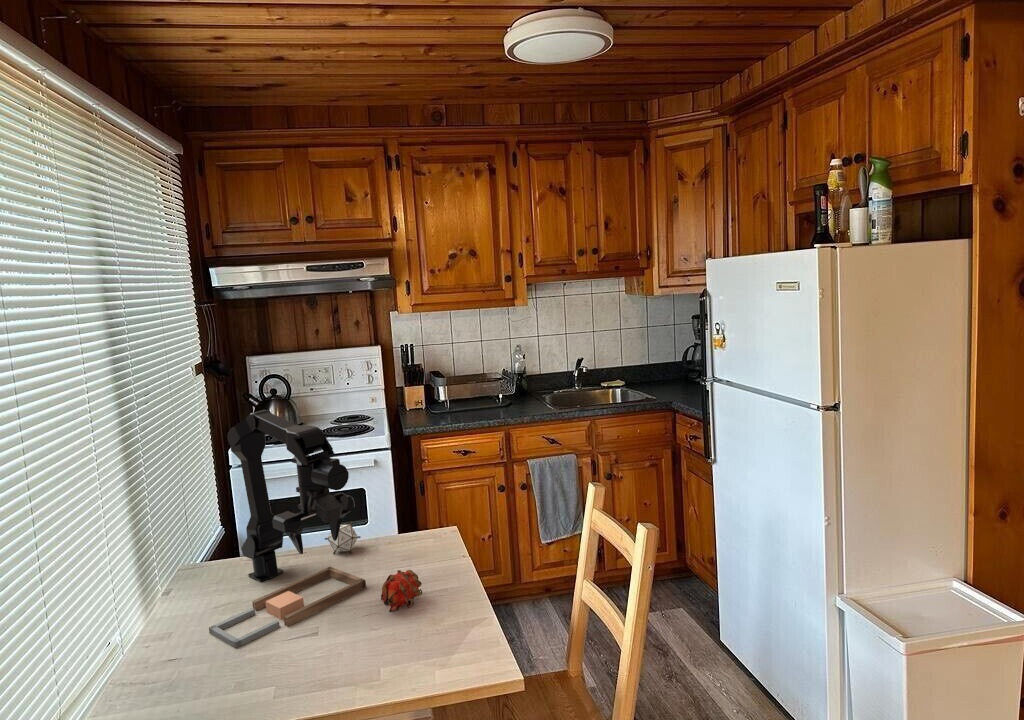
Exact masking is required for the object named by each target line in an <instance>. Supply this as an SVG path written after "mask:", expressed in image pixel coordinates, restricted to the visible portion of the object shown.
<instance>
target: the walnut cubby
mask: <svg viewBox="0 0 1024 720" xmlns="http://www.w3.org/2000/svg"><path fill="white" fill-rule="evenodd" d="M328 578H331V579H334V580H337V581H340V582H341V583H344V584H347V585H346V586H344V587H342V588H340V589H338V590H336V591H333V592H332V593H329V594H327V595H325V596H323V597H322V598H319V599H318V600H315V601H314V602H311V603H308V604H307V605H304V607H302V608H300V609H298V610H296V611H294V612H292V613H290V614H288V615H286V616H284V619H283V622H284V623H283V624H284V627H285V626H286V627H290V626H292V625H294V624H297V622H300V621H302V620H304V619H306V618H308V617H310V616H312V615H314V614H316V613H318V612H320V611H322V610H325V609H326V608H328V607H330V606H333V605H334V604H336V603H338V602H340V601H343V600H345V599H347V598H349V597H350V596H353V595H355V594H356V593H358V592H361V591H363V590H364V589H367V581H366V579H364V578H361V577H359V576H357V575H354V574H352V573H348V572H346V571H344V570H340V569H338V568H335V567H332V566H328V567H326V568H324V569H321V570H319V571H317V572H314V573H313V574H309V575H308V576H306V577H304V578H301V579H299V580H297V581H295V582H293V583H292V582H291V583H289V584H288V585H284V586H283V587H281V588H278V589H276V590H275V591H271V592H270V593H267V594H264V595H263V596H261V597H259V598H256V599H253V600H252V601H251V602H252V608H253V609H255V612H256V611H258V610H261V609H263V608H264V607H265V608H266V603H265V601H267V600H270V599H272V598H274V597H276V596H278V595H281V594H283V593H285V592H287V591H290V592H292V593H295V594H297V593H298V592H300V591H302V590H304V589H307V588H309V587H311V586H313V585H315V584H317V583H320V582H322V581H324V580H327V579H328Z"/></svg>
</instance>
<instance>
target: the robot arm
mask: <svg viewBox="0 0 1024 720" xmlns="http://www.w3.org/2000/svg"><path fill="white" fill-rule="evenodd" d="M267 435H268V436H270V437H272V438H273V439H276V440H278V441H280V442H282V443H283V444H285V446H286V450H287V451H288V452H289V453H291V455H293V457H292V458H291V459H290V461H291V463H293V464H296V474H297V481H298V486H297V487H295V491H296V493H299V498H300V503H299V504H297V508H298V510H300V512H297V513H294V512H291V511H289V510H287V511H284V512H282V513H278V514H276V515H275V514H274V513H273V512H272V509H271V504H270V497H269V493H268V487H267V481H266V477H265V471H264V465H263V461H262V460H263V459H262V456H263V453H264V452H265V447H266V436H267ZM227 442H228V444H229V446H230V449H231V452H232V453H233V454H234V455H235V457H237V458H238V460H239V461H240V465H241V470H242V471H241V472H242V475H243V481H244V485H245V491H246V495H247V496H246V497H247V502H248V509H249V512H250V513H249V514H250V517H249V519H248V523H247V525H246V527H245V529H246V539H245V541H244V542H243V543H242V546H241V548H240V549H241V552H242V555H243V557H245V558H248V559H251V562H252V568H253V569H252V570H253V571H252V572H251V573H248V577H250V578H251V579H253V580H255V581H257V582H262V583H263V582H264V581H267V580H269V579H272V578H274V577H276V576H279V575H281V574H283V573H284V569H281V568H279V567H278V563H277V554H276V550H278V549H282V548H283V545H284V544H283V542H284V534H286V535H287V536H288V538H289V539H290V541H291V542H292V544H293V546H294V547H295V549H296V550H297V552H298V554H300V555H304V545H303V537H302V533H303V530H304V528H303V527H301V526H302V524H303V522H302V521H304V520H307V519H310V518H312V517H315V516H317V517H318V518H320V520H321V521H322V522H324V523H329V530H330V533H331V535H332V538H333V540H337V537H338V533H339V529H340V526H341V525H342V522H343V519H344V517H345V516H346V515H347V514H349V513H350V512H351V509H354V508H355V507H356V506H355V505H356V504H355V499H354V497H353V496H351V495H349V494H346V493H345V492H337V493H335V494H331V493H330V490H333V491H340V490H342V489H343V488H345V487H346V485H347V483H348V482H349V477H350V476H349V474H350V473H349V471H348V469H347V468H346V466H345V465H344V464H341V462H340V461H341V460H340V459H339V458H337V457H335V456H336V453H335V451H334V450H333V449H334V447H333V446H332V444H330V442H329V440H328V439H327V436H326V434H325V433H324V432H323V430H322V428H319V427H318V426H312V425H307V424H306V425H305V424H304V425H298V424H296V423H293V422H291V421H289V420H287V419H284V418H282V417H280V416H278V415H276V414H274V413H272V411H271V410H269V409H262V410H259V411H254V412H251V413H250V414H248V415H247V416H246V418H244V419H243V420H241V421H240V422H238V423H237V424H235V425H234V426H232V427H231V428H230V430H229V432H228V433H227ZM333 457H335V458H333Z"/></svg>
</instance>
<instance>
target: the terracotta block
mask: <svg viewBox="0 0 1024 720" xmlns="http://www.w3.org/2000/svg"><path fill="white" fill-rule="evenodd" d="M265 603H266V606H265V609H266V613H267V614H269V615H271V616H272V617H275V618H277V619H279V620H281V621H282V620H284V616H286V615H288V614H290V613H292V612H294V611H296V610H298V609H300V608H302V607H304V606H305V602H304V597H303V596H301V595H300V594H299V595H298V594H297V593H292V592H290V591H287V592H285V593H283V594H281V595H278V596H276V597H274V598H272V599H270V600H267V601H265Z"/></svg>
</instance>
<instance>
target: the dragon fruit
mask: <svg viewBox="0 0 1024 720" xmlns="http://www.w3.org/2000/svg"><path fill="white" fill-rule="evenodd" d="M396 571H397V572H396V574H389V575H388V577H387V578H386V580H385V582H384V583H383V584H382V587H381V591H382V593H381V595H380V596H381V597H380V600H381V602H383V604H384V605H385V606H386V607H389V610H388V611H389V613H391V612H393V611H394V612H395V611H399V610H401V609H402V607H403V606H406V607H408V608H409V609H410V608H411V607H412V606H413V605H415V597H421V596H422V595H423V589H422V588H420V587H421V586H422V583H423V582H422V581H421V580H419V576H418V574H416V573H415V572H413V570H411V569H408V570H406V571H401V570H400V569H397V570H396Z"/></svg>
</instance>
